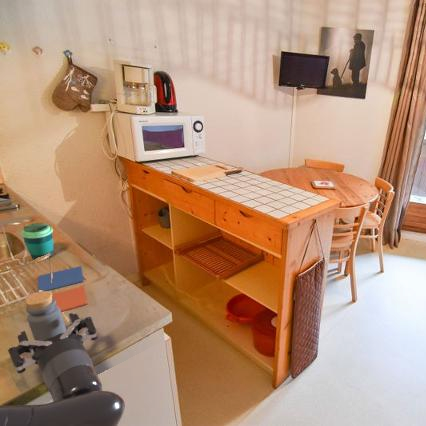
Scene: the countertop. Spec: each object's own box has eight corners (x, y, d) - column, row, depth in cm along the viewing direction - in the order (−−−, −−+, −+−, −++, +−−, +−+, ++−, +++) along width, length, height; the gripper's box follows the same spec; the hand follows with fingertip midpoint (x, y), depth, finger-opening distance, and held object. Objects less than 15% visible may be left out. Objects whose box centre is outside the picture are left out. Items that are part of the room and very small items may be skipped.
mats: (37, 318, 85) (36, 317, 85) (38, 276, 101) (38, 275, 101) (87, 304, 92) (86, 303, 92) (80, 267, 108) (80, 266, 108)
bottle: (72, 348, 77) (57, 298, 72) (40, 360, 74) (22, 309, 68) (67, 334, 81) (53, 286, 75) (37, 345, 77) (20, 295, 71)
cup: (54, 249, 117) (45, 219, 112) (63, 256, 113) (55, 226, 108) (26, 257, 110) (15, 226, 106) (34, 266, 106) (24, 234, 102)
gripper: (104, 334, 67) (81, 298, 76) (13, 375, 57) (0, 327, 66) (110, 361, 70) (88, 322, 79) (25, 404, 60) (11, 354, 69)
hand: (48, 325), depth 73 cm, fingers open, 8 cm apart
